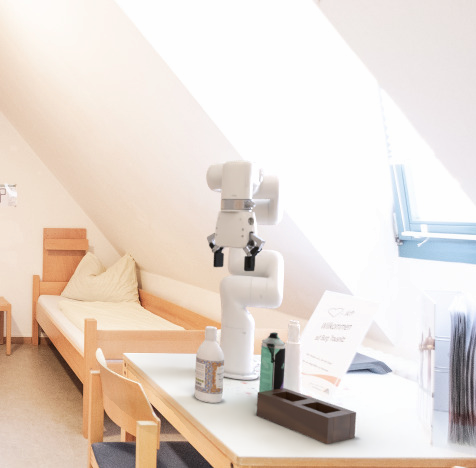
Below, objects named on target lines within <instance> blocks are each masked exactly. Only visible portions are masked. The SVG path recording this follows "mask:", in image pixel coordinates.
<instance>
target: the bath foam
mask: <svg viewBox="0 0 476 468" xmlns="http://www.w3.org/2000/svg"><path fill="white" fill-rule="evenodd" d="M204 329H205V330H204V340H203V341H202V342H201V344H200V345H199V346H198V348H197V351H196V354H195V372H194V376H195V377H194V398H196V399H198V401H201V402H205V403H210V404H218V403H221V402H222V401H223V395H224V393H223V392H224V376H223V373H224V354H223V351H222V349H221V347H220V343H219V342H218V340H217V339H218V328H217V327H216V326H212V325H206V326H205V328H204Z"/></svg>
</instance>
